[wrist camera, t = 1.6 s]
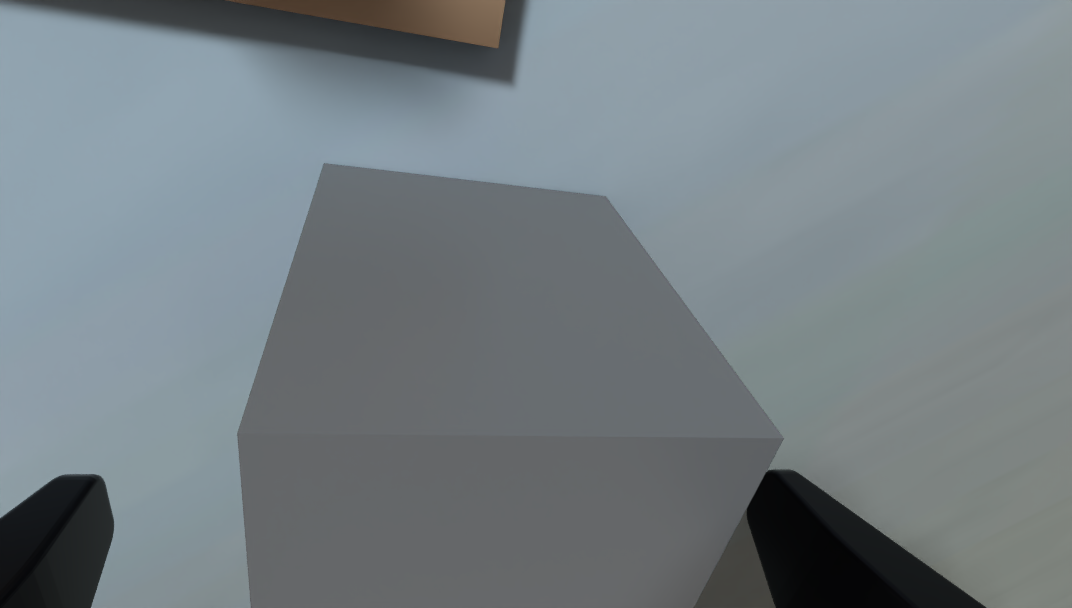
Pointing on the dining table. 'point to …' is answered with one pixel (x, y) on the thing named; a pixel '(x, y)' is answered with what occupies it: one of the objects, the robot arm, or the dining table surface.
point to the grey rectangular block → (487, 409)
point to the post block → (408, 16)
